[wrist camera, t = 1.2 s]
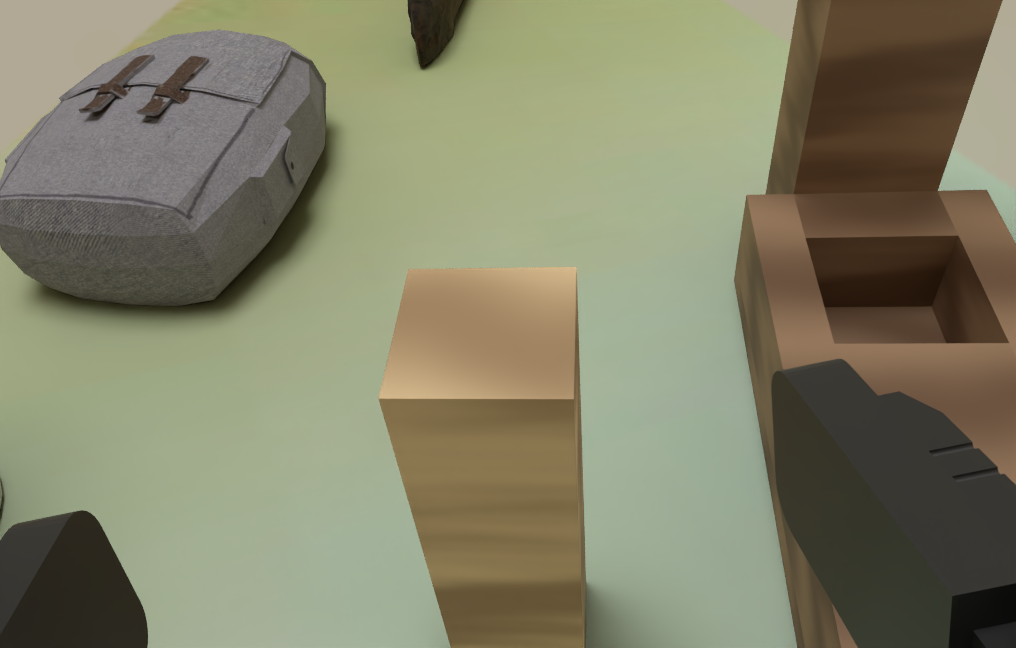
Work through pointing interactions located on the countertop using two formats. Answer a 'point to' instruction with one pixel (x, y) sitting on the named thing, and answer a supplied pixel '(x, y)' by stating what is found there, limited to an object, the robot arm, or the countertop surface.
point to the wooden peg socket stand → (879, 239)
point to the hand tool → (432, 26)
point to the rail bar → (493, 449)
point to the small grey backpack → (164, 169)
